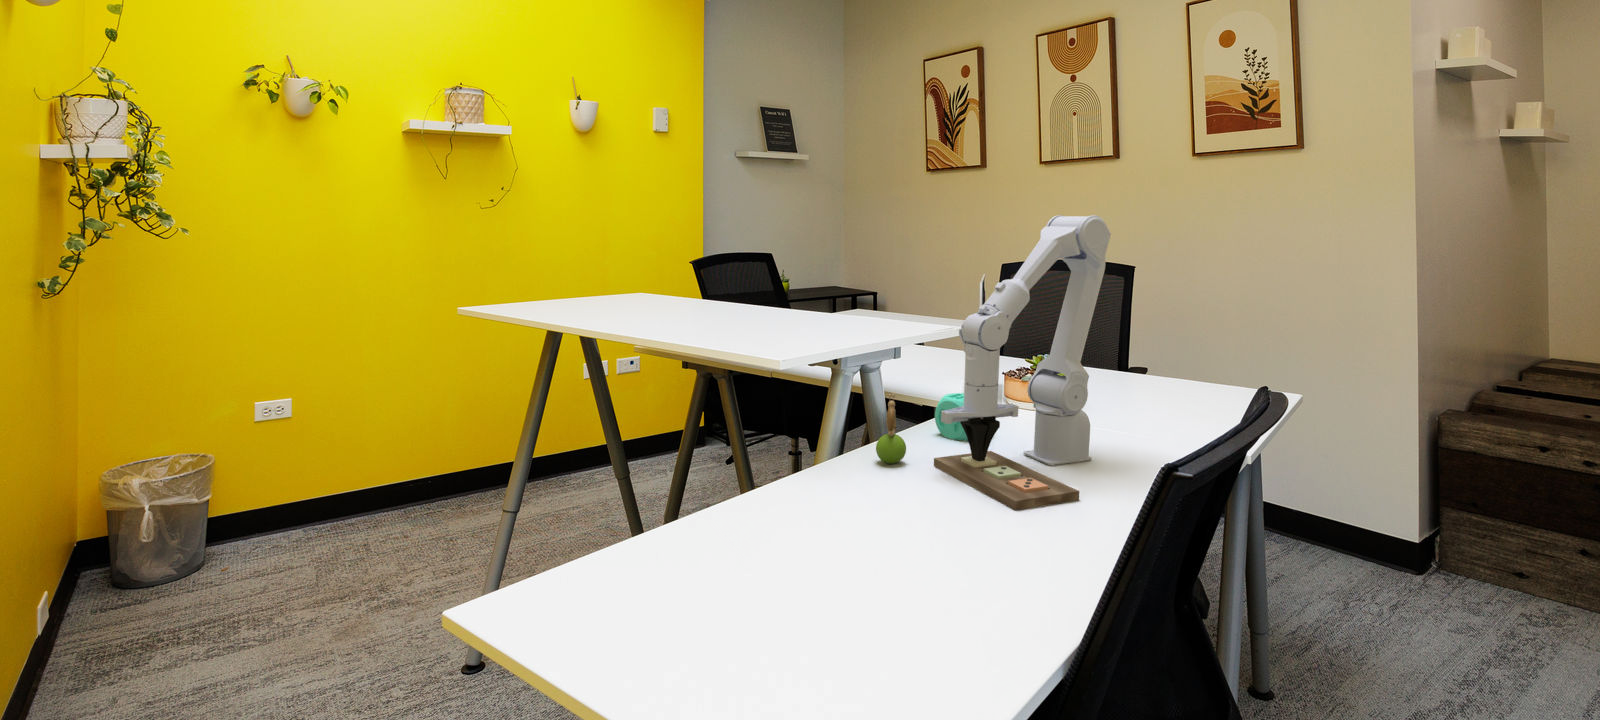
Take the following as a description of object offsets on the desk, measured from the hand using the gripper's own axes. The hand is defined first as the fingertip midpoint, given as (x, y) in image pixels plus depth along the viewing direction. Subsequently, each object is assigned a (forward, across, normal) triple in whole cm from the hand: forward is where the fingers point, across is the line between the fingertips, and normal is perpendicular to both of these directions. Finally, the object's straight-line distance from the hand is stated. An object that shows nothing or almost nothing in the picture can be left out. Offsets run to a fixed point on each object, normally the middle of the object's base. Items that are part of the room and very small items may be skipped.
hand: (978, 459), depth 144 cm
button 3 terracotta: (+3, 0, +14) cm, 14 cm away
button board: (+2, 0, +7) cm, 7 cm away
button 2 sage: (+2, 0, +7) cm, 7 cm away
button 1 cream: (+3, 0, 0) cm, 3 cm away
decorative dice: (+2, -10, -21) cm, 23 cm away
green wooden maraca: (+2, +12, -10) cm, 16 cm away
